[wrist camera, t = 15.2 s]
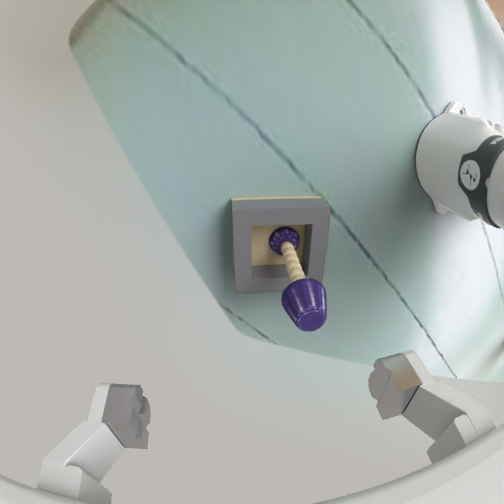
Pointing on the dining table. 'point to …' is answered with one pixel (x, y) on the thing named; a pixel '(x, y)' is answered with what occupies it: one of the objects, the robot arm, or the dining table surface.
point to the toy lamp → (299, 284)
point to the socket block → (260, 229)
